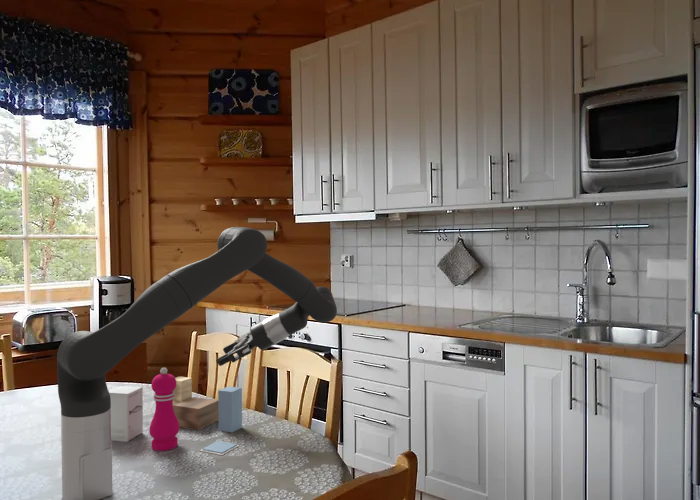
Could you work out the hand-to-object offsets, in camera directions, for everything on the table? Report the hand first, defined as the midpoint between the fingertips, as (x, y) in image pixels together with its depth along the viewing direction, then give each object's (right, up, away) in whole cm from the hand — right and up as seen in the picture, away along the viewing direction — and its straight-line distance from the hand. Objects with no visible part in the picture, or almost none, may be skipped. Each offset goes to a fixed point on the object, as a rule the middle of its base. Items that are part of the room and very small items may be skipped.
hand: (221, 357), depth 160 cm
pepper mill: (-10, -20, -17) cm, 28 cm away
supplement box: (-24, -20, -10) cm, 32 cm away
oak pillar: (-14, -19, +8) cm, 25 cm away
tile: (+4, -19, -19) cm, 27 cm away
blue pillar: (+3, -19, -4) cm, 20 cm away
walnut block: (-7, -19, +1) cm, 21 cm away
